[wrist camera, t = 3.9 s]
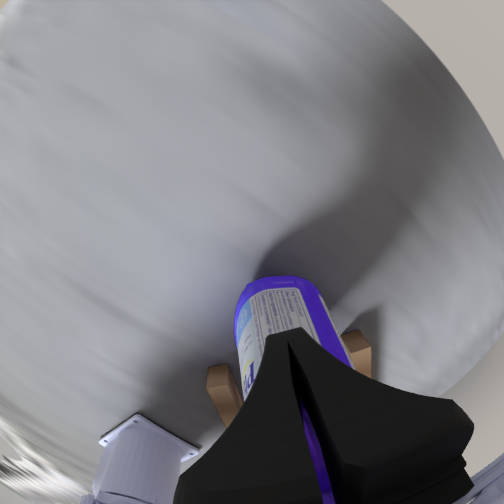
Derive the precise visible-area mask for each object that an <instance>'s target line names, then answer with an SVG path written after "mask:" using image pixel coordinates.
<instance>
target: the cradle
mask: <svg viewBox="0 0 504 504" xmlns="http://www.w3.org/2000/svg"><path fill="white" fill-rule="evenodd" d="M340 337H341V339H342V341H343V343H344V346H345V348H346V350H347V352H348V355H349V357H350V359H351V361H352V363H353V365H354V367H355V370H356V371H358V372H360V373H361V374H363V375H365V376H367V377H369V378H371V346H370V344H369V343H368V342H367V340H366V339H365V337H364V336H363V335H362V333H361V332H360V330H356V331H353V332H350V333H347V334H344V335H340ZM206 389H207V391H208V393H209V395H210V397H211V399H212V401H213V403H214V405H215V407H216V409H217V411H218V413H219V415H220V417H221V419H222V421H223V423H224V425H225V427H226V429H227V428H228V426H229V425H230V423H231V422H232V420H233V419H234V417H235V416H236V414H237V413H238V411H239V410H240V408H241V406H242V405H243V401H242V398H241V396H240V393H239V391H238V388H237V386H236V383H235V381H234V378H233V376H232V373H231V370H230V368H229V365H228V364H224V365H219V366H214V367H208V376H207V385H206Z"/></svg>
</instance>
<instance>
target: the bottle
mask: <svg viewBox="0 0 504 504" xmlns="http://www.w3.org/2000/svg"><path fill="white" fill-rule="evenodd" d="M298 327H302V328H304V329H305V331H306V332H307V333H308V334H309V335H310V336H311V337H312V338H313V339H314V340H315V341H316V342H317V343H319V344H320V345H321V346H322V347H323V348H324V349H326V350H327V351H328V352H329V353H331V354H332V355H333V356H335V357H336V358H337V359H339V360H340V361H342V362H343V363H345V364H346V365H348V366H349V367H351V368H353V369H354V370H355V367H354V365H353V363H352V361H351V359H350V357H349V355H348V352H347V350H346V348H345V346H344V343H343V341H342V339H341V337H340V335H339V332H338V330H337V328H336V326H335V324H334V322H333V319H332V317H331V315H330V313H329V311H328V309H327V306H326V304H325V302H324V300H323V298H322V296H321V294H320V292H319V290H318V289H317V288H316V287H315V286H314V285H313V284H312V283H311V282H310V281H308V280H306V279H304V278H300V277H296V276H272V277H265V278H262V279H258V280H256V281H254V282H251V283H249V284H247V285H246V288H245V289H244V290H243V292H242V294H241V295H240V298H239V300H238V303H237V307H236V312H235V319H234V334H235V341H236V345H237V349H238V356H239V363H240V371H241V380H242V389H243V397H244V401H245V399H246V397H247V395H248V393H249V391H250V389H251V387H252V384H253V382H254V380H255V377H256V375H257V372H258V369H259V366H260V363H261V360H262V356H263V352H264V347H265V338H266V337H267V336H268V335H271V334H275V333H279V332H282V331H286V330H290V329H294V328H298ZM299 396H300V394H299ZM300 402H301V409H302V416H303V423H304V430H305V434H306V438H307V441H308V445H309V449H310V452H311V456H312V460H313V463H314V467H315V471H316V474H317V478H318V482H319V486H320V490H321V494H322V498H323V504H335V501H334V497H333V493H332V489H331V485H330V482H329V478H328V474H327V470H326V467H325V463H324V459H323V456H322V452H321V448H320V445H319V442H318V439H317V437H316V434H315V432H314V429H313V427H312V424H311V422H310V419H309V417H308V414H307V412H306V409H305V407H304V404H303V402H302V399H301V397H300Z"/></svg>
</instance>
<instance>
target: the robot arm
mask: <svg viewBox="0 0 504 504" xmlns="http://www.w3.org/2000/svg"><path fill="white" fill-rule="evenodd" d="M299 394H300V396H299ZM300 397H301V399H302V402H303V404H304V407H305V409H306V412H307V414H308V417H309V419H310V422H311V424H312V427H313V429H314V432H315V434H316V437H317V439H318V442H319V445H320V448H321V452H322V456H323V459H324V463H325V467H326V470H327V474H328V478H329V482H330V485H331V489H332V493H333V497H334V501H335V504H466V503H468V502H469V501H471V500H472V499H474V498H475V499H474V500H473V501H471V502H470V503H469V504H504V453H503V454H502V455H501V456H500V457H498V458H497V459H496V460H494V461H493V462H492V463H490V464H489V465H488V466H486V467H485V468H484V469H482V470H481V471H480V472H478V473H477V474H475V475H474V476H472V477H471V478H470V477H469V476H468V474H467V472H466V471H465V469H464V467H465V466H466V461H465V460H464V458H463V457H462V453H463V451H464V450H465V448H466V446H467V444H468V443H469V441H470V439H471V437H472V434H473V431H474V423H473V422H472V421H471V419H470V418H469V417H468V415H467V414H466V413H465V412H464V411H463V409H462V408H460V407H459V406H458V405H457V404H456V403H455V402H454V401H453V400H450V399H443V398H436V397H429V396H423V395H419V394H415V393H411V392H407V391H403V390H400V389H397V388H394V387H391V386H388V385H386V384H383V383H380V382H378V381H376V380H374V379H371V378H369V377H367V376H365V375H363V374H361V373H360V372H358V371H356V370H354V369H353V368H351V367H349V366H348V365H346V364H345V363H343V362H342V361H340V360H339V359H337V358H336V357H335V356H333V355H332V354H331V353H329V352H328V351H327V350H326V349H324V348H323V347H322V346H321V345H320V344H319V343H317V342H316V341H315V340H314V339H313V338H312V337H311V336H310V335H309V334H308V333H307V332H306V331H305V329H304V328H302V327H298V328H294V329H290V330H286V331H282V332H279V333H275V334H271V335H268V336H267V337H266V338H265V347H264V352H263V356H262V360H261V363H260V366H259V369H258V372H257V375H256V377H255V380H254V382H253V384H252V387H251V389H250V391H249V393H248V395H247V397H246V399H245V401H244V403H243V405H242V406H241V408H240V410H239V411H238V413H237V414H236V416H235V417H234V419H233V420H232V422H231V423H230V425H229V426H228V428H227V429H226V430H225V431H224V433H223V434H222V435H221V436H220V437H219V439H218V440H217V441H216V442H215V443H214V444H213V445H212V447H211V448H210V449H209V450H208V451H207V452H206V453H205V454H204V455H203V456H202V457H201V458H200V459H199V460H198V461H196V462H195V463H194V464H193V465H192V466H191V467H190V468H188V469H187V470H186V471H185V472H184V473H182V474H181V475H180V476H179V474H180V466H181V462H183V461H185V460H187V459H189V458H191V457H194V456H196V455H198V454H199V449H197V448H195V447H194V446H192V445H190V444H188V443H186V442H184V441H182V440H181V439H179V438H177V437H175V436H174V435H172V434H170V433H168V432H167V431H165V430H163V429H162V428H160V427H159V426H157V425H155V424H154V423H152V422H151V421H149V420H147V419H146V418H144V417H143V416H141V415H139V414H136V415H134V416H133V417H131V418H130V419H128V420H127V421H126V422H124V423H123V424H121V425H120V426H118V427H117V428H115V429H114V430H113V431H111V432H110V433H108V434H107V435H105V436H104V437H102V438H101V439H100V440H99V443H100V444H101V445H103V446H104V447H105V449H104V452H103V454H102V457H101V460H100V463H99V465H98V468H97V471H96V474H95V477H94V480H93V485H92V486H93V492H94V495H95V496H93V495H91V494H88V495H84V496H82V498H81V501H80V504H323V498H322V494H321V490H320V486H319V482H318V478H317V474H316V471H315V467H314V463H313V460H312V456H311V452H310V449H309V445H308V441H307V438H306V434H305V430H304V423H303V416H302V409H301V402H300ZM94 497H95V499H94Z"/></svg>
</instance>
